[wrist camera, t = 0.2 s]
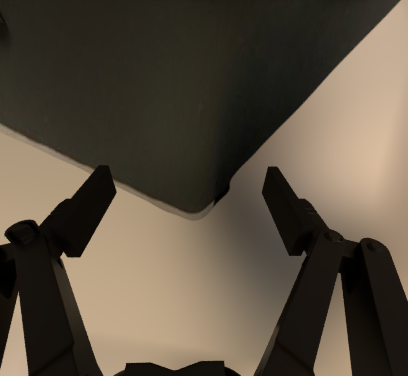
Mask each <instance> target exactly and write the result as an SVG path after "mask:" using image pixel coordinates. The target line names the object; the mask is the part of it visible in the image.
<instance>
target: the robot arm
mask: <svg viewBox="0 0 408 376" xmlns="http://www.w3.org/2000/svg"><path fill="white" fill-rule="evenodd" d="M262 194H263V197H264V199H265V201H266V204H267V206H268V208H269V211H270V213H271V215H272V217H273V220H274V222H275V224H276V227H277V229H278V231H279V234H280V236H281V238H282V240H283V243H284V245H285V247H286V250H287V252H288V254H289V256H301V255H302V253H303V251H305V252H306V254H307V256H306V258H305V260H304V262H303V263H302V267H301V269H300V272H299V274H298V276H297V279H296V281H295V283H294V285H293V288H292V290H291V292H290V295H289V297H288V299H287V302H286V304H285V306H284V308H283V311H282V313H281V316H280V318H279V320H278V322H277V325H276V327H275V329H274V331H273V334H272V336H271V338H270V341H269V343H268V345H267V348H266V350H265V352H264V354H263V357H262V359H261V361H260V363H259V365H258V367H257V369H256V371H255V373H254V376H315V374H314V372H313V367H314V363H315V359H316V355H317V351H318V347H319V344H320V340H321V336H322V332H323V328H324V324H325V320H326V316H327V313H328V309H329V305H330V301H331V297H332V293H333V289H334V285H335V282H336V278H337V274H338V273H341V280H342V289H343V298H344V307H345V316H346V324H347V333H348V343H349V351H350V360H351V369H352V376H408V301H407V298H406V295H405V292H404V290H403V287H402V284H401V282H400V279H399V276H398V273H397V271H396V268H395V265H394V263H393V260H392V257H391V254H390V252H389V250H388V249H387V248H386V246H384V245H383V244H382V243H380V242H379V241H377V240H374V239H371V238H363V239H362V240H361V241H360V242H359V243H358V242H354V241H350V240H346V239H344V238H343V236H342V235H340V234H339V233H338V232H336V231H334V230H331V229H329V228H328V227H327V225H326V224H325V223H324V221H323V220H322V218H321V217H320V216H319V214H318V213H317V211H316V210H315V209H314V207H313V206H312V204H311V203H309V202H308V201H307V200H306V199H298V197H297V196H296V194H295V193H294V191H293V190H292V188H291V187H290V185H289V184H288V182H287V181H286V179H285V178H284V176H283V175H282V173H281V172H280V170H279V168H278V167H268V169H267V173H266V178H265V182H264V186H263V190H262ZM115 195H116V189H115V185H114V182H113V178H112V175H111V172H110V169H109V165H99V166H98V167H97V168H96V169H95V171H94V172H93V173H92V174H91V175H90V177H89V178H88V179H87V180H86V181H85V182H84V184H83V185H82V186H81V187H80V188H79V190H78V191H77V192H76V193H75V194H74V196H73V197H72V198H71V199H65V200H64V201H62V202H61V203H59V204H58V205H57V207H56V208H55V209H54V210H53V211H52V212H51V214H50V215H49V216H48V217H47V218H46V219H45V220H44V221H43V222H42V224H41V225H40V226H38V225H37V223H36V222H35V221H34V220H24V221H20V222H18V223H15V224H13V225H12V226H11V227H9V228H8V229H7V230H6V231H5V234H4V235H5V236H6V238H7V239H8V240H9V241H10V242H11V243H8V244H4V245H0V368H1V364H2V359H3V355H4V350H5V347H6V342H7V338H8V333H9V330H10V325H11V321H12V317H13V313H14V308H15V304H16V300H17V295H18V291H19V297H20V306H21V314H22V322H23V331H24V339H25V347H26V356H27V364H28V374H29V376H103V374H102V372H101V370H100V368H99V367H98V364H97V362H96V359H95V356H94V353H93V351H92V347H91V344H90V341H89V339H88V336H87V332H86V330H85V327H84V324H83V321H82V318H81V315H80V312H79V309H78V306H77V303H76V300H75V297H74V294H73V291H72V288H71V285H70V282H69V279H68V276H67V273H66V270H65V267H64V264H63V261H62V259H61V258H60V256H61V255H62V253H63V252H64V253H65V254H66V256H67V257H81V255H82V253H83V251H84V250H85V248H86V246H87V244H88V243H89V241H90V239H91V237H92V235H93V234H94V232H95V230H96V228H97V227H98V225H99V223H100V221H101V220H102V218H103V216H104V214H105V212H106V210H107V209H108V207H109V205H110V204H111V202H112V200H113V198H114V196H115ZM114 376H241V375H239V374H238V373H237V372H235V371H234V370H232V369H230V368H227V367H225V366H224V361H200V362H197V363H194V364H192V365H189V366H186V367H184V368H181V369H179V370H170V369H168V368H165V367H162V366H159V365H156V364H153V363H126V367H125V370H123V371H121V372H119V373H117V374H115V375H114Z"/></svg>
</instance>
